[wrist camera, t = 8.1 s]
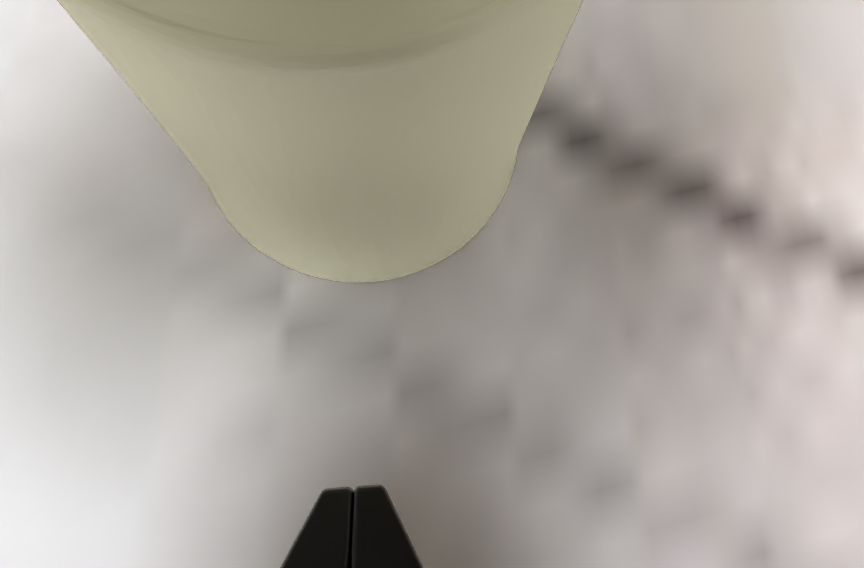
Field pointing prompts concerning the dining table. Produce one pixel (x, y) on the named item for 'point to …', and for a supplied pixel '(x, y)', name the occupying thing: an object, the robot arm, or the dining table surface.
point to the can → (341, 115)
